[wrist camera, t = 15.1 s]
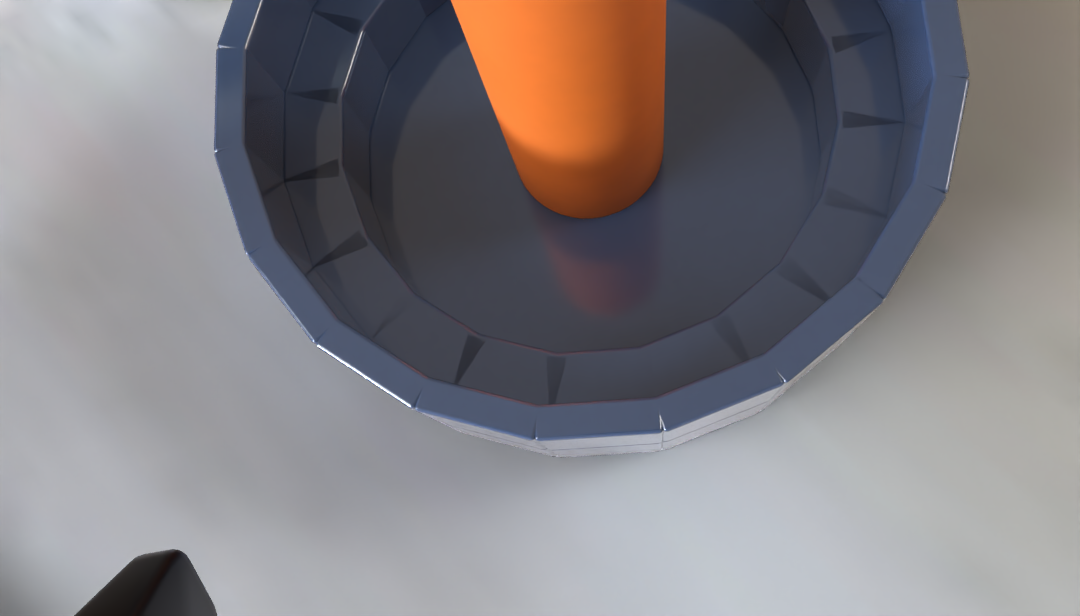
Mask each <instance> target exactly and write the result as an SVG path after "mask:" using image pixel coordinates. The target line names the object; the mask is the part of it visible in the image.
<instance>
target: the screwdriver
mask: <svg viewBox="0 0 1080 616" xmlns="http://www.w3.org/2000/svg"><path fill="white" fill-rule="evenodd" d="M451 2H452V4H453V7H454V9H455V12H456V15H457V17H458V20H459V22H460V25H461V27H462V30H463V33H464V35H465V38H466V40H467V43H468V45H469V48H470V51H471V53H472V56H473V58H474V61H475V63H476V66H477V68H478V71H479V74H480V76H481V79H482V81H483V84H484V86H485V89H486V92H487V94H488V97H489V99H490V102H491V104H492V107H493V110H494V112H495V115H496V117H497V120H498V122H499V125H500V128H501V130H502V133H503V135H504V138H505V140H506V143H507V145H508V148H509V151H510V153H511V156H512V158H513V161H514V163H515V166H516V169H517V171H518V174H519V176H520V179H521V180H522V182H523V184H524V186H525V187H526V189H527V190H528V191H529V193H530V194H531V195H532V196H533V197H534V198H535V199H536V200H537V201H538V202H540V203H541V204H542V205H543V206H545V207H547V208H548V209H550V210H552V211H554V212H556V213H559V214H561V215H565V216H569V217H574V218H599V217H604V216H608V215H611V214H614V213H617V212H619V211H621V210H623V209H625V208H627V207H629V206H630V205H631V204H633V203H634V202H636V201H637V200H638V199H639V198H640V197H641V196H642V195H643V194H644V193H645V192H646V191H647V190H648V188H649V187H650V186H651V184H652V183H653V181H654V180H655V178H656V176H657V173H658V171H659V169H660V165H661V162H662V157H663V144H664V92H665V40H666V0H451Z"/></svg>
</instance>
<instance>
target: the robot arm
mask: <svg viewBox="0 0 1080 616" xmlns="http://www.w3.org/2000/svg"><path fill="white" fill-rule="evenodd" d="M74 616H217V613H216V609H215V606H214V604H213V602H212V600H211V598H210V596H209V594H208V593H207V591H206V589H205V587H204V585H203V583H202V582H201V580H200V578H199V576H198V574H197V572H196V570H195V569H194V567H193V565H192V563H191V561H190V560H189V558H188V557H187V555H186V554H184V553H183V552H182V551H180V550H175V549H172V550H166V551H160V552H154V553H148V554H144V555H141V556H138V557H136V558H134V559H133V560H132V561H131V562H130V563H129V564H128V565H127V566H126V567H125V568H123V569H122V570H121V571H120V572H119V573H118V574H117V575H116V576H115V577H114V578H113V579H112V580H111V581H110V582H109V583H108V584H107V585H106V586H105V587H104V588H103V589H102V590H100V591H99V592H98V593H97V594H96V595H95V596H94V597H93V598H92V599H91V600H90V601H89V602H88V603H87V604H86V605H85V606H84V607H83V608H82V609H81V610H80V611H79V612H78V613H76V614H75V615H74Z"/></svg>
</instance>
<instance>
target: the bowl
mask: <svg viewBox="0 0 1080 616" xmlns="http://www.w3.org/2000/svg"><path fill="white" fill-rule="evenodd" d="M968 78H969V69H968V63H967V57H966V52H965V46H964V40H963V34H962V28H961V22H960V16H959V10H958V4H957V0H666V40H665V92H664V144H663V157H662V162H661V165H660V169H659V171H658V173H657V176H656V178H655V180H654V181H653V183H652V184H651V186H650V187H649V188H648V190H647V191H646V192H645V193H644V194H643V195H642V196H641V197H640V198H639V199H638V200H637V201H636V202H634V203H633V204H631V205H630V206H629V207H627V208H625V209H623V210H621V211H619V212H617V213H614V214H611V215H608V216H604V217H599V218H574V217H569V216H565V215H561V214H559V213H556V212H554V211H552V210H550V209H548V208H547V207H545V206H543V205H542V204H541V203H540V202H538V201H537V200H536V199H535V198H534V197H533V196H532V195H531V194H530V193H529V191H528V190H527V189H526V187H525V186H524V184H523V182H522V180H521V179H520V176H519V174H518V171H517V169H516V166H515V163H514V161H513V158H512V156H511V153H510V151H509V148H508V145H507V143H506V140H505V138H504V135H503V133H502V130H501V128H500V125H499V122H498V120H497V117H496V115H495V112H494V110H493V107H492V104H491V102H490V99H489V97H488V94H487V92H486V89H485V86H484V84H483V81H482V79H481V76H480V74H479V71H478V68H477V66H476V63H475V61H474V58H473V56H472V53H471V51H470V48H469V45H468V43H467V40H466V38H465V35H464V33H463V30H462V27H461V25H460V22H459V20H458V17H457V15H456V12H455V9H454V7H453V4H452V2H451V0H233V2H232V4H231V7H230V10H229V13H228V16H227V19H226V21H225V24H224V27H223V30H222V33H221V36H220V39H219V41H218V49H217V53H216V95H215V138H214V150H215V159H216V162H217V165H218V168H219V171H220V174H221V178H222V181H223V184H224V187H225V190H226V193H227V196H228V199H229V203H230V206H231V209H232V212H233V215H234V218H235V221H236V225H237V228H238V231H239V234H240V237H241V240H242V243H243V246H244V250H245V253H246V254H247V255H248V256H249V260H250V261H251V262H252V263H253V265H254V266H255V267H256V269H257V270H258V271H259V273H260V274H261V275H262V277H263V278H264V279H265V281H266V282H267V283H268V285H269V286H270V287H271V288H272V290H273V291H274V292H275V294H276V295H277V296H278V298H279V299H280V300H281V302H282V303H283V304H284V306H285V307H286V308H287V310H288V311H289V312H290V313H291V315H292V316H293V317H294V319H295V320H296V321H297V323H298V324H299V325H300V327H301V328H302V329H303V331H304V332H305V333H306V334H307V336H308V337H309V338H310V340H311V341H312V342H313V343H315V344H317V347H318V348H319V349H321V350H322V351H324V352H325V353H327V354H329V355H330V356H332V357H333V358H335V359H336V360H338V361H339V362H341V363H342V364H344V365H345V366H347V367H348V368H350V369H351V370H353V371H354V372H356V373H357V374H359V375H360V376H362V377H363V378H365V379H366V380H368V381H370V382H371V383H373V384H374V385H376V386H377V387H379V388H380V389H382V390H383V391H385V392H386V393H388V394H389V395H391V396H392V397H394V398H395V399H397V400H398V401H400V402H401V403H403V404H404V405H406V406H407V407H409V408H411V409H413V410H415V411H417V412H419V413H421V414H423V415H425V416H427V417H429V418H431V419H434V420H436V421H438V422H440V423H442V424H444V425H446V426H448V427H450V428H453V429H455V430H457V431H459V432H461V433H464V434H468V435H472V436H476V437H480V438H483V439H487V440H491V441H495V442H499V443H503V444H506V445H510V446H514V447H518V448H522V449H526V450H529V451H533V452H537V453H541V454H545V455H549V456H552V457H556V456H558V457H561V458H562V457H578V456H594V455H610V454H625V453H641V452H657V451H660V450H661V449H663V450H667V449H669V448H672V447H674V446H677V445H679V444H682V443H684V442H687V441H689V440H692V439H694V438H697V437H699V436H702V435H704V434H707V433H709V432H712V431H714V430H717V429H719V428H722V427H724V426H727V425H729V424H732V423H734V422H737V421H739V420H742V419H744V418H747V417H749V416H752V415H754V414H757V413H758V412H759V411H760V410H764V409H765V408H766V407H767V406H769V405H770V404H771V403H772V402H773V401H775V400H776V399H777V398H778V397H779V396H780V395H782V394H783V393H784V392H785V391H786V390H788V389H789V388H790V387H791V386H792V385H793V384H795V383H796V382H797V381H798V380H799V379H801V378H802V377H803V376H804V375H805V374H807V373H808V372H809V371H810V370H811V369H812V368H814V367H815V366H816V365H817V364H818V363H820V362H821V361H822V360H823V359H824V358H825V357H827V356H828V355H829V354H830V353H831V352H833V351H834V350H835V349H836V348H837V347H838V346H840V345H841V344H842V343H843V342H844V341H845V340H846V339H847V338H848V337H849V336H850V335H851V334H852V333H853V332H854V331H855V330H856V329H857V328H858V327H859V326H860V325H861V324H862V323H863V322H864V321H865V320H866V319H867V318H868V317H869V316H870V315H871V314H872V313H873V312H874V311H875V310H876V309H877V308H878V307H879V306H880V305H881V304H882V303H883V301H884V300H885V299H886V298H887V297H888V295H889V293H890V291H891V290H892V288H893V286H894V285H895V283H896V281H897V280H898V278H899V276H900V275H901V273H902V271H903V270H904V268H905V266H906V265H907V263H908V261H909V260H910V258H911V256H912V255H913V253H914V251H915V249H916V248H917V246H918V244H919V243H920V241H921V239H922V238H923V236H924V234H925V233H926V231H927V229H928V228H929V226H930V224H931V223H932V221H933V219H934V218H935V216H936V214H937V212H938V211H939V209H940V207H941V206H942V204H943V202H944V201H945V199H946V194H947V192H948V191H949V187H950V181H951V176H952V171H953V166H954V161H955V155H956V150H957V145H958V140H959V134H960V129H961V124H962V119H963V114H964V108H965V103H966V98H967V93H968V87H969V79H968Z"/></svg>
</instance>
